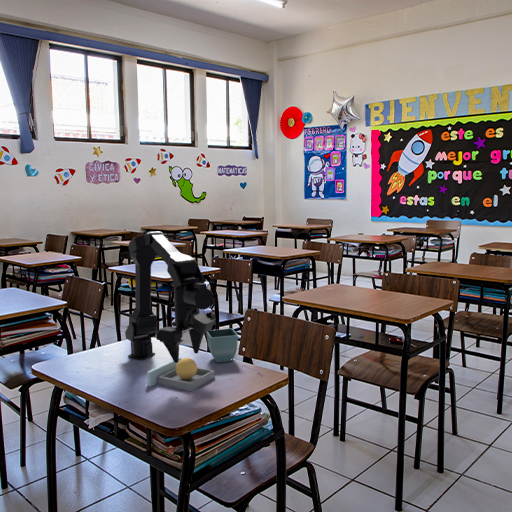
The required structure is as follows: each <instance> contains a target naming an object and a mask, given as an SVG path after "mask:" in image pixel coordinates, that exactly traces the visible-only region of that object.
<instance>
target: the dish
mask: <svg viewBox="0 0 512 512" xmlns="http://www.w3.org/2000/svg"><path fill="white" fill-rule="evenodd" d="M215 373H216V371H215V370H214V369H213V370H212V369H210V368H209V369H208V368H203V367H198V366H197V372H196V374H195V375H194V377H192V378H191V379H187V380H185V379H182V378H180V377H179V376H178V375H177V373H176V368H175V369H173V370H171V371H169V372H167V373H165V374H163V375H161V376H159V377H158V383H157V384H158V385H161V386H166V387H169V388H175V389H177V390H178V389H179V390H184V391H188V392H192V391H195V390H196V389H197V388H199V387H202V386H203V385H204V384H207V383H208V382H210V381H212V380H213V379H215V378H216V377H215V375H216V374H215Z"/></svg>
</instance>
